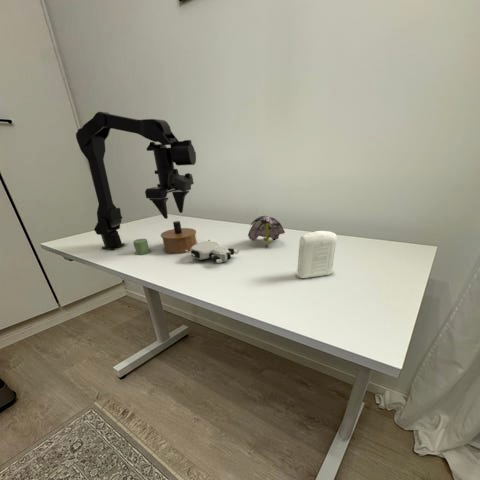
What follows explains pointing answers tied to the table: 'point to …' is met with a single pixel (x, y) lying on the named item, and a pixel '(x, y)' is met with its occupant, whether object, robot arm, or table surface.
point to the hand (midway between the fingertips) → (173, 215)
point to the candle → (141, 246)
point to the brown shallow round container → (179, 244)
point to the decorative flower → (265, 229)
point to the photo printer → (316, 254)
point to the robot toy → (211, 251)
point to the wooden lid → (178, 232)
